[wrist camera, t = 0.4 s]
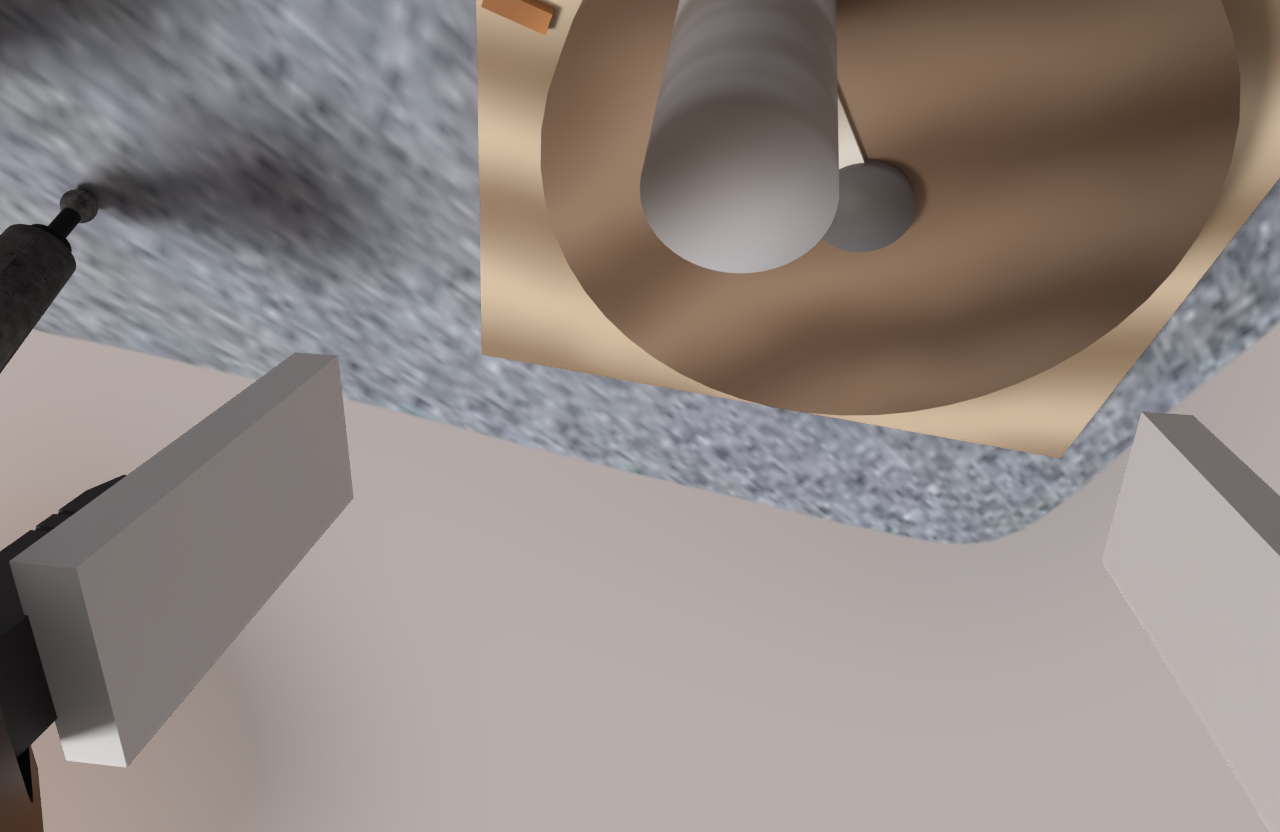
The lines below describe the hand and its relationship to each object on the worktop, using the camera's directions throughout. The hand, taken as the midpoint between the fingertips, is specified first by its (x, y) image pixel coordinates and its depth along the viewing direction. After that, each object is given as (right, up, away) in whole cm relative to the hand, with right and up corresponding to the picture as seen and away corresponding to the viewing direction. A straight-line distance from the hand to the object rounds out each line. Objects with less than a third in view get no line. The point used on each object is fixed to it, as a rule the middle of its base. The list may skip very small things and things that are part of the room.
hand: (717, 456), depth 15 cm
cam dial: (+6, +9, +14) cm, 18 cm away
